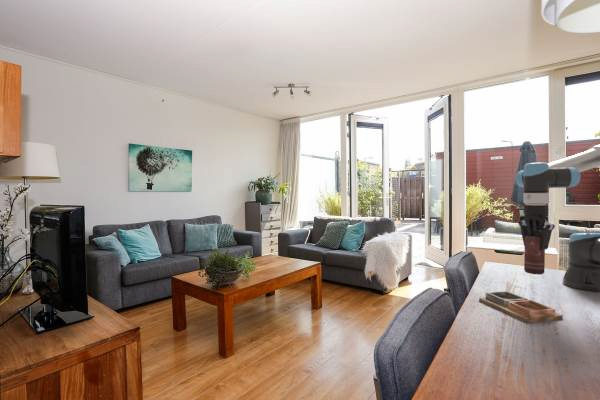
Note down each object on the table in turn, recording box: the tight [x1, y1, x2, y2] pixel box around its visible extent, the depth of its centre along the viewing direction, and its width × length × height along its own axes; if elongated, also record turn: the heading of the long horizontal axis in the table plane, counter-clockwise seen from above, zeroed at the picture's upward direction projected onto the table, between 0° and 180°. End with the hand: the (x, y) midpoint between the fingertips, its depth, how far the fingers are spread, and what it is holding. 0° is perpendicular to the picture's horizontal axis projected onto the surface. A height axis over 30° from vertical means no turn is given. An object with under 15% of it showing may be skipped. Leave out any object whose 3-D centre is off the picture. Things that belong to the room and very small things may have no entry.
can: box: [523, 235, 546, 276], centre depth 120 cm, size 6×6×14 cm
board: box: [478, 290, 564, 324], centre depth 113 cm, size 14×20×3 cm
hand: (535, 267), depth 121 cm, fingers closed
